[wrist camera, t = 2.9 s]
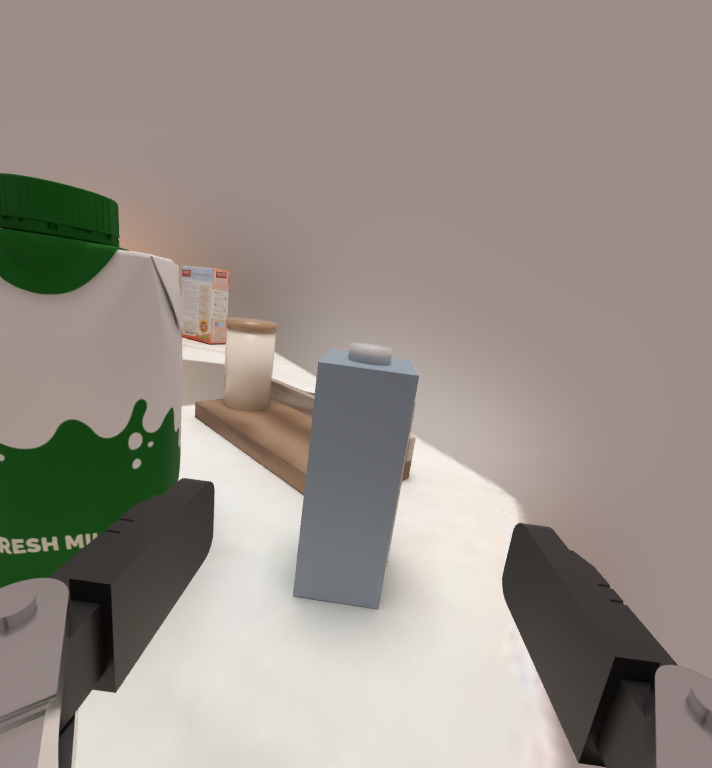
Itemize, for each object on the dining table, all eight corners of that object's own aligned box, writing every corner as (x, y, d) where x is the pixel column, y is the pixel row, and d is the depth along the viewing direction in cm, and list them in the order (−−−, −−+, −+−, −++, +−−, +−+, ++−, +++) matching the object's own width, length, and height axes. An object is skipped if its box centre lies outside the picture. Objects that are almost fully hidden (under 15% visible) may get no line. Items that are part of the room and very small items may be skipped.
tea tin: (293, 596, 20) (320, 345, 17) (308, 539, 25) (332, 336, 22) (380, 609, 20) (425, 360, 17) (379, 550, 25) (413, 347, 22)
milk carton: (-56, 641, 16) (-144, 139, 11) (45, 518, 24) (18, 202, 19) (164, 608, 19) (166, 201, 14) (186, 509, 27) (192, 232, 22)
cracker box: (227, 344, 103) (230, 270, 99) (209, 344, 98) (212, 267, 94) (198, 336, 110) (200, 267, 106) (180, 336, 105) (181, 264, 101)
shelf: (331, 515, 29) (338, 464, 28) (195, 416, 45) (196, 383, 44) (408, 477, 37) (415, 437, 36) (268, 405, 53) (270, 377, 52)
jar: (237, 413, 43) (242, 323, 40) (213, 399, 47) (217, 316, 44) (279, 407, 47) (286, 325, 45) (254, 394, 51) (260, 318, 49)
